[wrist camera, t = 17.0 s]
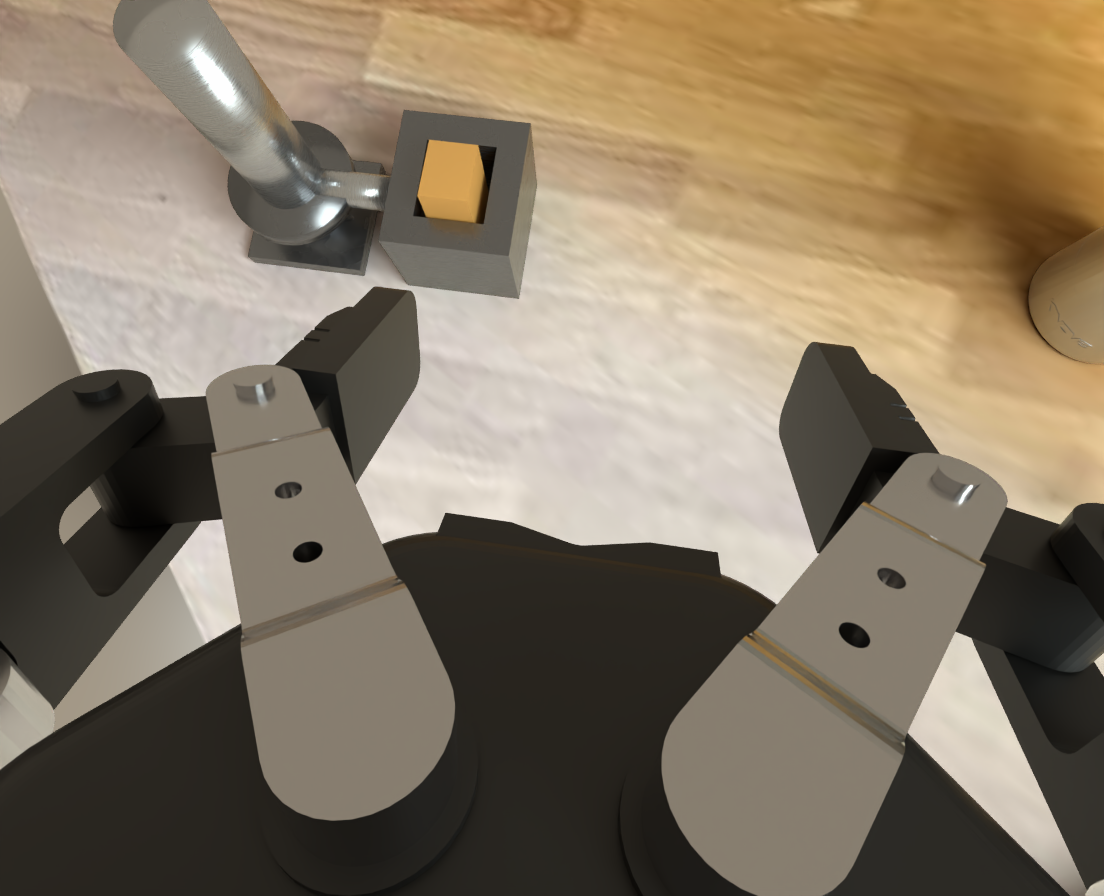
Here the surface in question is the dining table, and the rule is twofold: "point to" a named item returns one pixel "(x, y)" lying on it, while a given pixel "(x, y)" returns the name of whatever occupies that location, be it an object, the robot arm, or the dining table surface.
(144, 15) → the bracket post
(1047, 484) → the dining table surface
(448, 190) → the orange block
